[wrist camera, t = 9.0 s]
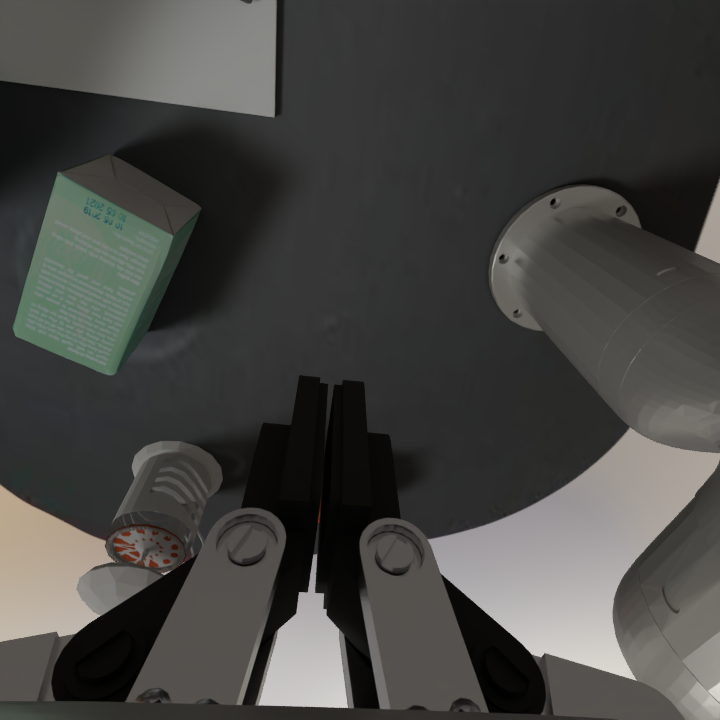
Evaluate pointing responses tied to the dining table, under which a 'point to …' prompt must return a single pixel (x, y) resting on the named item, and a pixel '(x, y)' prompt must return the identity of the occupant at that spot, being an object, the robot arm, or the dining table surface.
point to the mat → (146, 50)
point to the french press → (147, 542)
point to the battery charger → (247, 1)
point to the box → (103, 262)
